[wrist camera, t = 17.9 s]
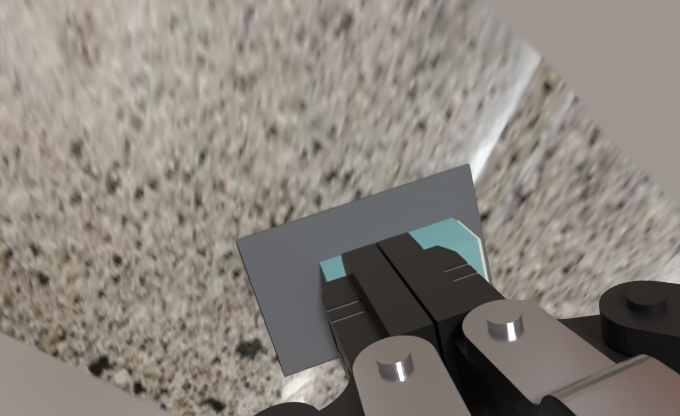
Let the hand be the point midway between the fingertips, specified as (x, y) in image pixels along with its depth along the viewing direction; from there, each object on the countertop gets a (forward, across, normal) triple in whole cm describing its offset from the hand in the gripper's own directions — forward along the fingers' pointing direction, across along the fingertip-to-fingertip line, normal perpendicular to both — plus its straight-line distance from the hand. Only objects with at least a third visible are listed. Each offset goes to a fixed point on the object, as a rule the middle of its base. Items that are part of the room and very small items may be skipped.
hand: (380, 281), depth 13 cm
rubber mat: (+29, -5, +16) cm, 33 cm away
